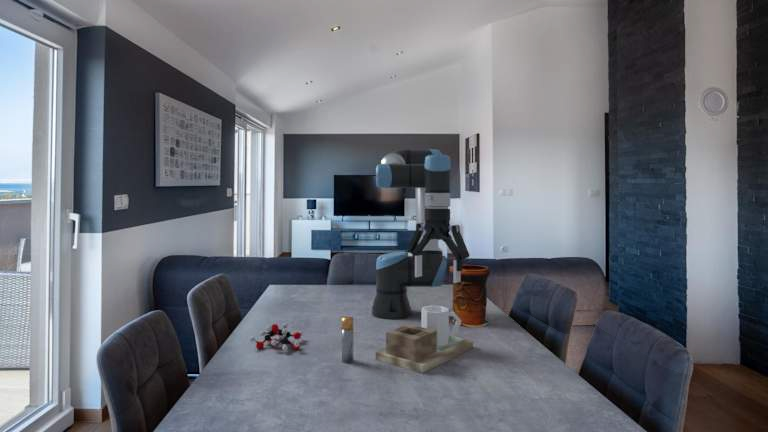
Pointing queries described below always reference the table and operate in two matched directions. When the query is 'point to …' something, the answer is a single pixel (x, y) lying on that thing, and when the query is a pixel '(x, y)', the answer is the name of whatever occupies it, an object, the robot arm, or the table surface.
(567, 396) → the table surface
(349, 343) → the cylindrical pin
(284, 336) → the molecular model
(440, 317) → the mug
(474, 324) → the vessel
